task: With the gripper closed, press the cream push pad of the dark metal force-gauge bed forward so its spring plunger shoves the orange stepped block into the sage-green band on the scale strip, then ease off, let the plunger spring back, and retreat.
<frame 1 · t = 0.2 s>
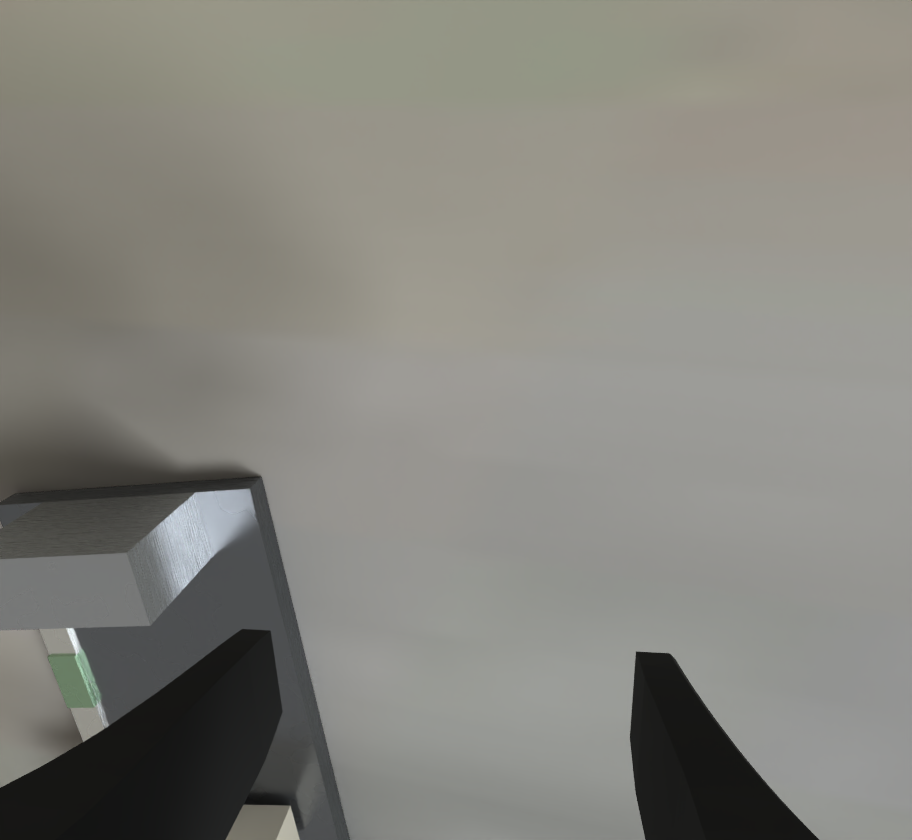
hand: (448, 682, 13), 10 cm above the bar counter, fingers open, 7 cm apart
gauge bed: (196, 684, 27), on the bar counter
plunger: (187, 821, 26), point 3 cm above the bar counter, slide at 0.0 cm
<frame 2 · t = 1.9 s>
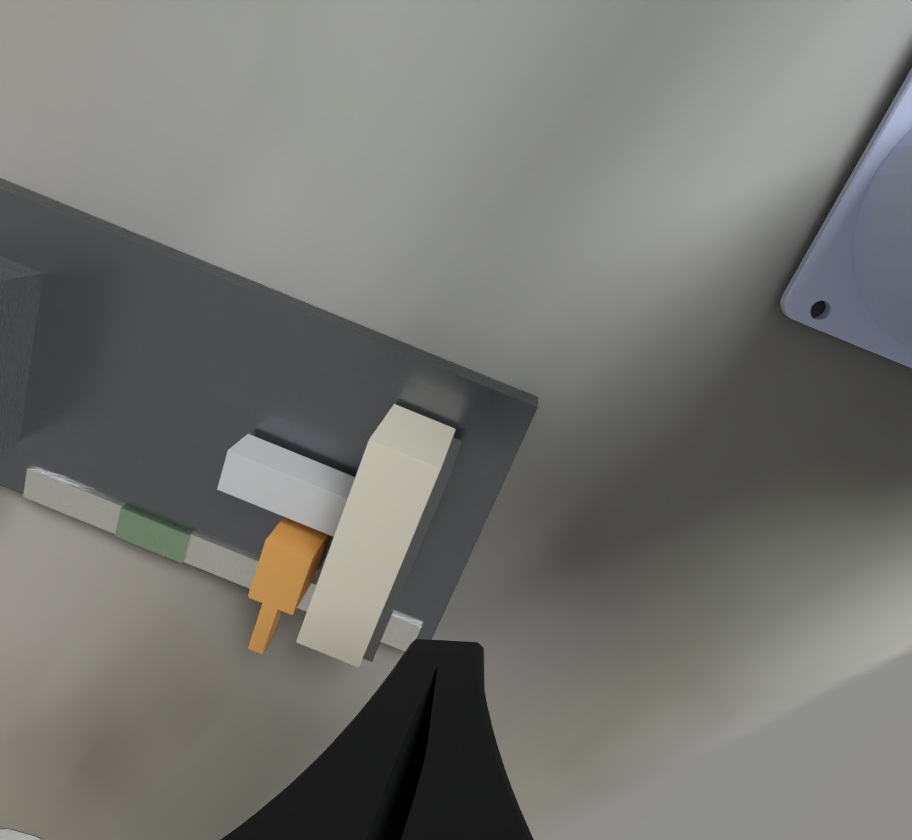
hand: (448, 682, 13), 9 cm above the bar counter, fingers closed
gauge bed: (231, 426, 22), on the bar counter
plunger: (319, 511, 20), point 3 cm above the bar counter, slide at 0.0 cm
orange stepped block: (283, 584, 21), point 2 cm above the bar counter, slide at 0.0 cm
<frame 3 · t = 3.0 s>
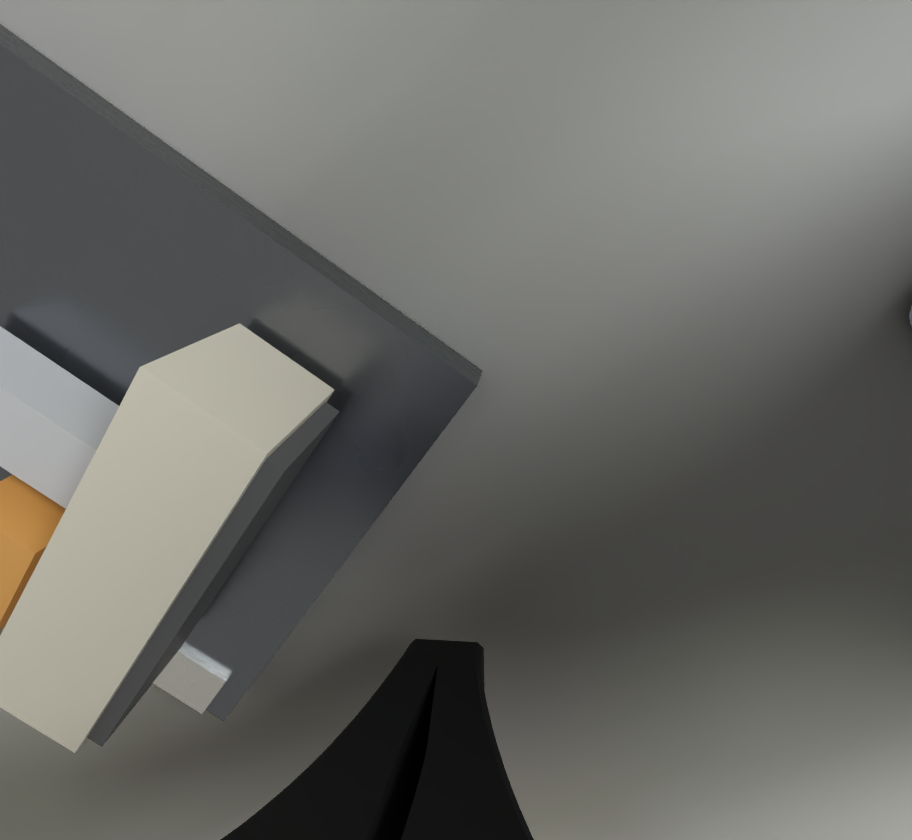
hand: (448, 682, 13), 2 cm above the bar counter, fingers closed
plunger: (65, 475, 11), point 3 cm above the bar counter, slide at 0.0 cm
orange stepped block: (2, 577, 13), point 2 cm above the bar counter, slide at 0.0 cm
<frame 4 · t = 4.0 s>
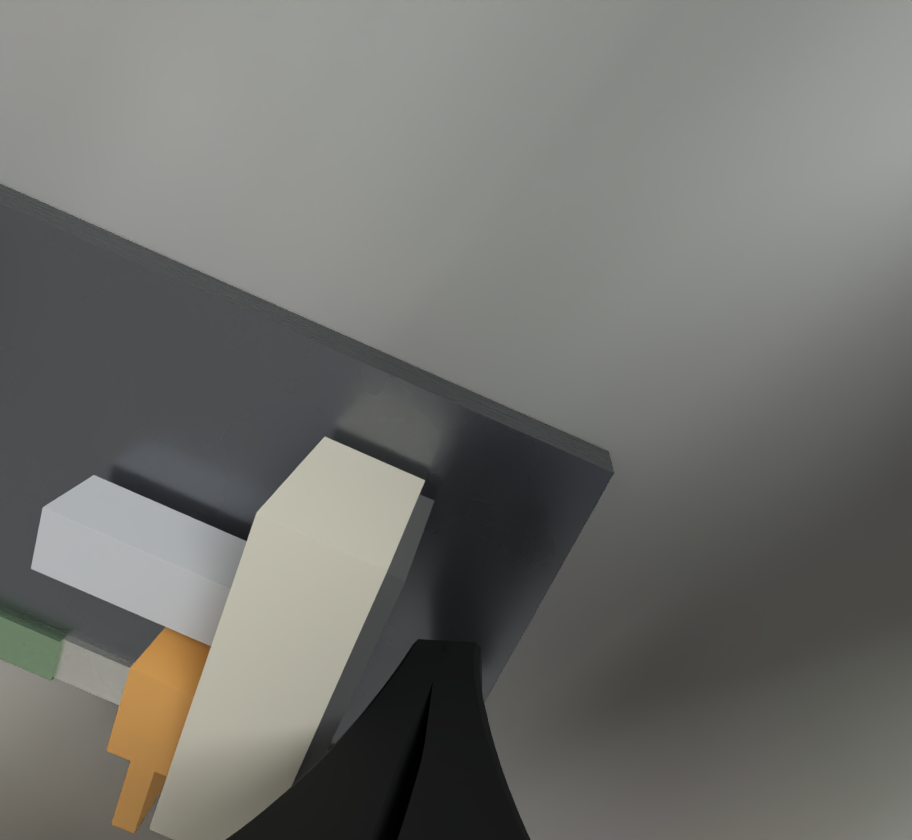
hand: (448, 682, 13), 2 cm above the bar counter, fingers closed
gauge bed: (128, 477, 14), on the bar counter
plunger: (194, 611, 12), point 3 cm above the bar counter, slide at 1.1 cm, touching gripper, orange stepped block
orange stepped block: (172, 721, 13), point 2 cm above the bar counter, slide at 0.6 cm, touching plunger
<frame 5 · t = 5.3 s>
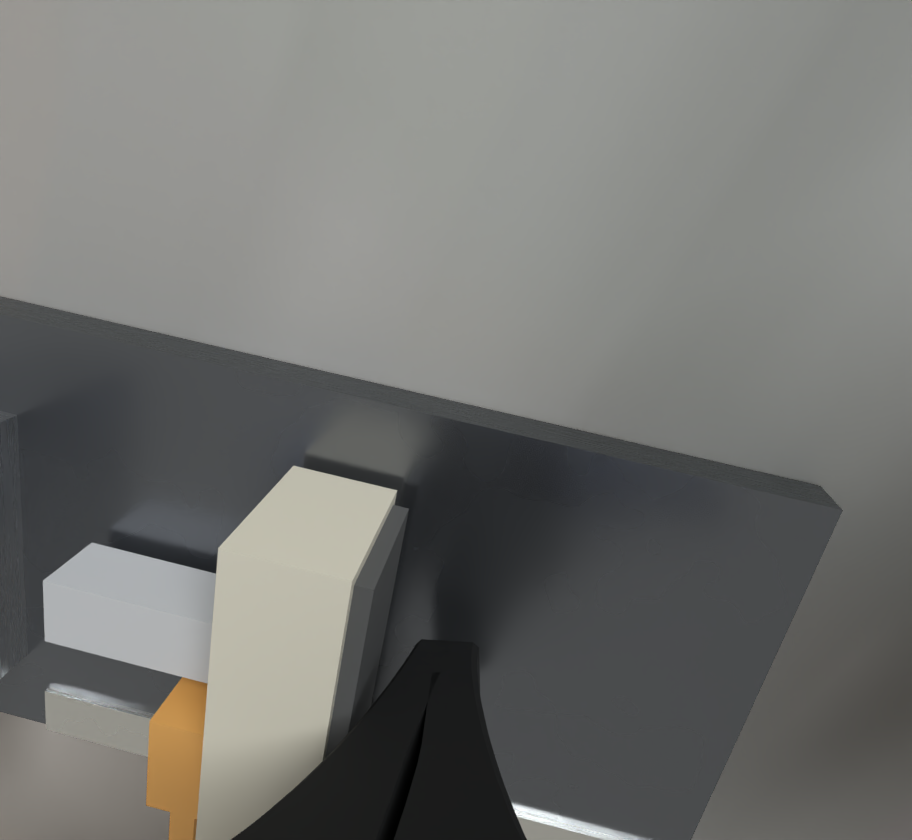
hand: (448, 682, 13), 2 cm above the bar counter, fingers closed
gauge bed: (329, 589, 15), on the bar counter
plunger: (199, 656, 12), point 3 cm above the bar counter, slide at 5.7 cm, touching gripper, orange stepped block
orange stepped block: (207, 767, 14), point 2 cm above the bar counter, slide at 5.2 cm, touching plunger
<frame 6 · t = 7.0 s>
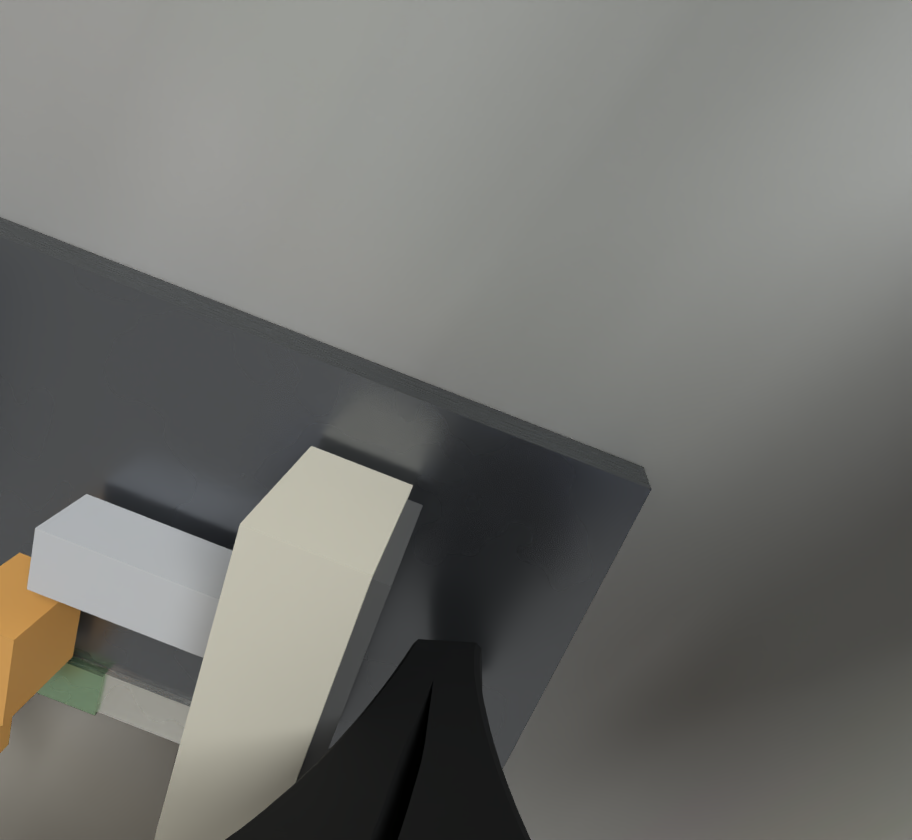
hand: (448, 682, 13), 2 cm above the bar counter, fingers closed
gauge bed: (163, 511, 14), on the bar counter
plunger: (189, 625, 12), point 3 cm above the bar counter, slide at 2.0 cm, touching gripper
orange stepped block: (6, 670, 14), point 2 cm above the bar counter, slide at 5.2 cm
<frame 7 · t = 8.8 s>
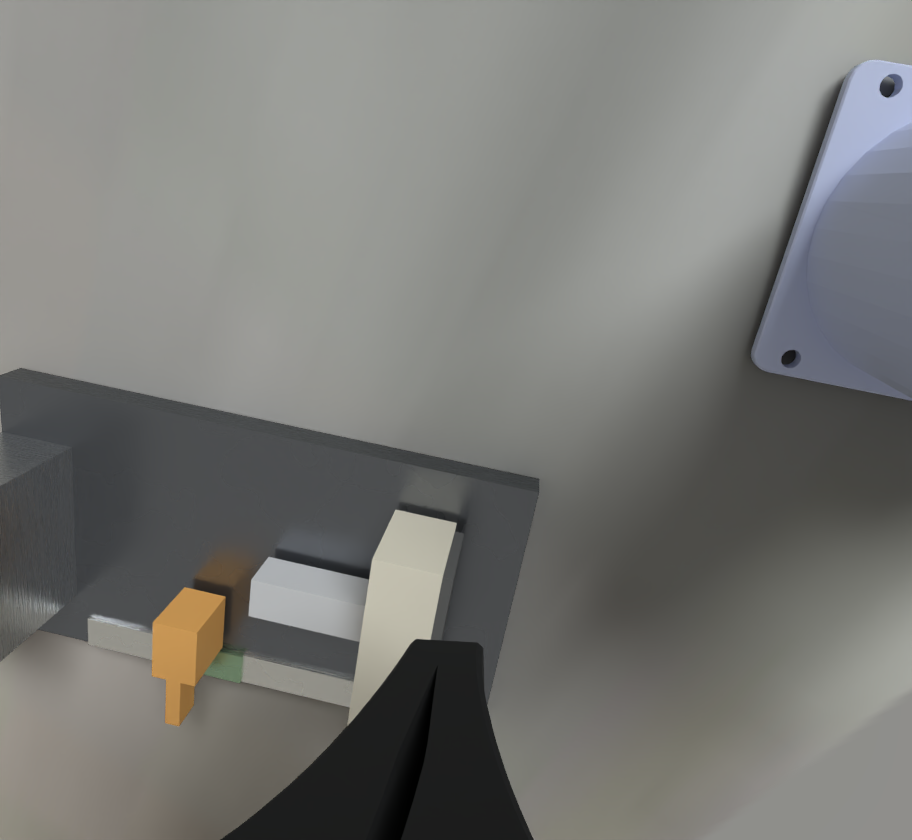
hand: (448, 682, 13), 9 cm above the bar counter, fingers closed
gauge bed: (263, 550, 24), on the bar counter
plunger: (343, 622, 21), point 3 cm above the bar counter, slide at 0.3 cm
orange stepped block: (188, 657, 23), point 2 cm above the bar counter, slide at 5.2 cm
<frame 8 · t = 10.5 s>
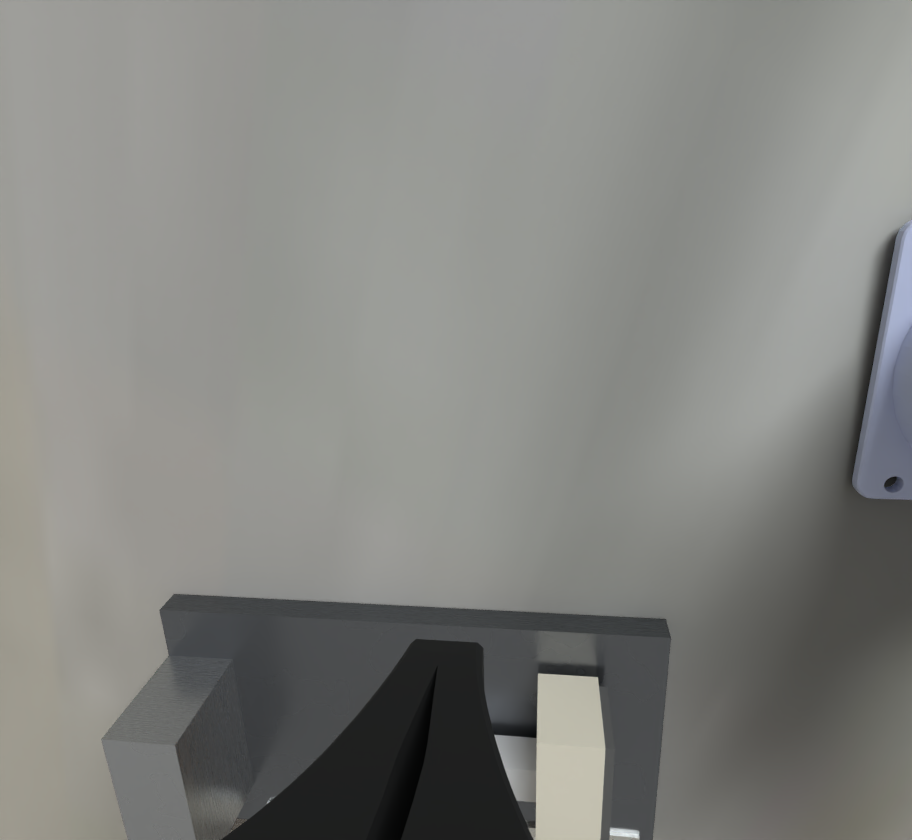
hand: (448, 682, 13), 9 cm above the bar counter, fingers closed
gauge bed: (414, 716, 25), on the bar counter
plunger: (511, 787, 22), point 3 cm above the bar counter, slide at 0.3 cm
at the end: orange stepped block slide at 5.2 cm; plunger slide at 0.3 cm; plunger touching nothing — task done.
